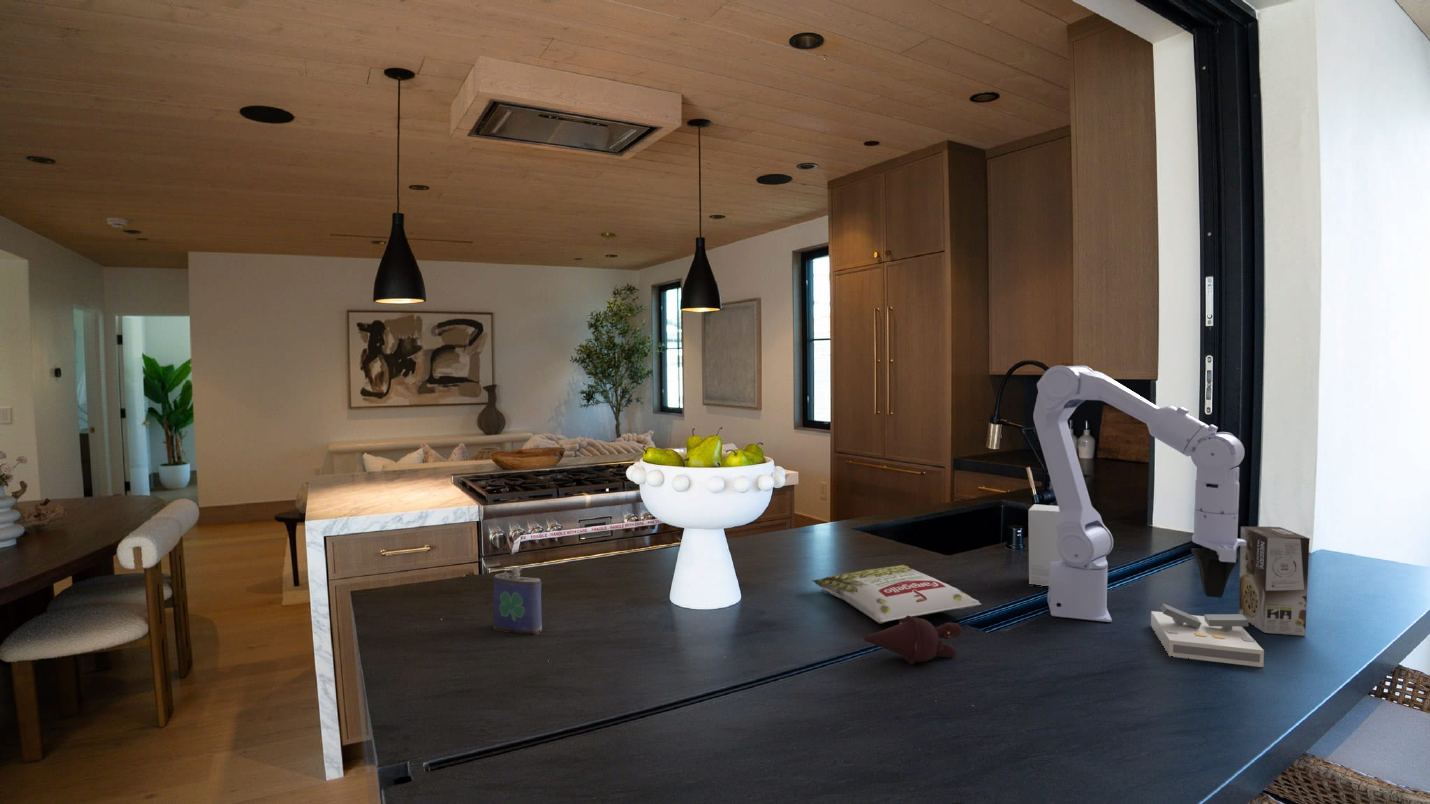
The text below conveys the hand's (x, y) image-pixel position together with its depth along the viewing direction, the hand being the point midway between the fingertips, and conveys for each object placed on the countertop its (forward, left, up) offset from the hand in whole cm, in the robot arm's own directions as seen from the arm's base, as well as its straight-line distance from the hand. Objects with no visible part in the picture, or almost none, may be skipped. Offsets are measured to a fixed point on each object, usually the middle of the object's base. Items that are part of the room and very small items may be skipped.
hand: (1213, 596), depth 118 cm
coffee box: (+12, +13, -8) cm, 19 cm away
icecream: (-44, -23, -8) cm, 50 cm away
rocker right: (+2, 0, -5) cm, 5 cm away
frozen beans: (-50, +2, -8) cm, 50 cm away
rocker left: (-5, 0, -5) cm, 7 cm away
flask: (-107, -32, -8) cm, 112 cm away
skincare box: (-21, +26, -8) cm, 35 cm away
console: (-1, -1, -8) cm, 8 cm away
